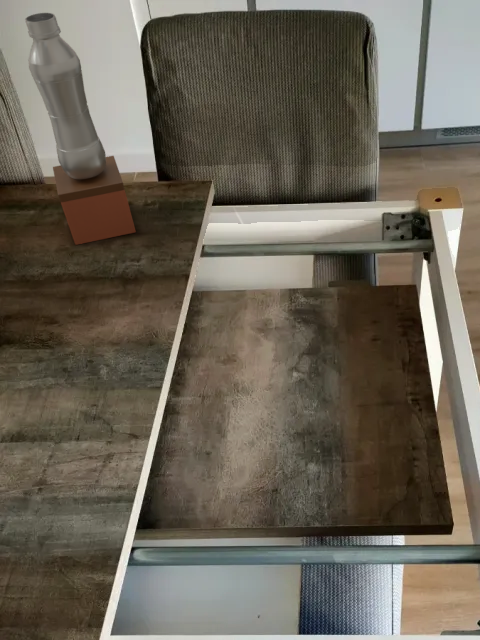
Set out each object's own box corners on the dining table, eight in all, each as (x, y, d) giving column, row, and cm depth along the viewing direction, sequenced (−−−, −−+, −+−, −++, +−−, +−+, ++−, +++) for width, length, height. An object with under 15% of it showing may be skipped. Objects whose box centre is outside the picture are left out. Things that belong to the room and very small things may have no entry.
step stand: (75, 245, 97) (57, 194, 91) (69, 215, 103) (52, 166, 97) (136, 232, 99) (122, 182, 93) (126, 204, 105) (113, 155, 99)
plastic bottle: (55, 183, 93) (1, 25, 79) (78, 161, 98) (30, 7, 83) (97, 187, 92) (49, 27, 77) (118, 164, 97) (76, 9, 82)
